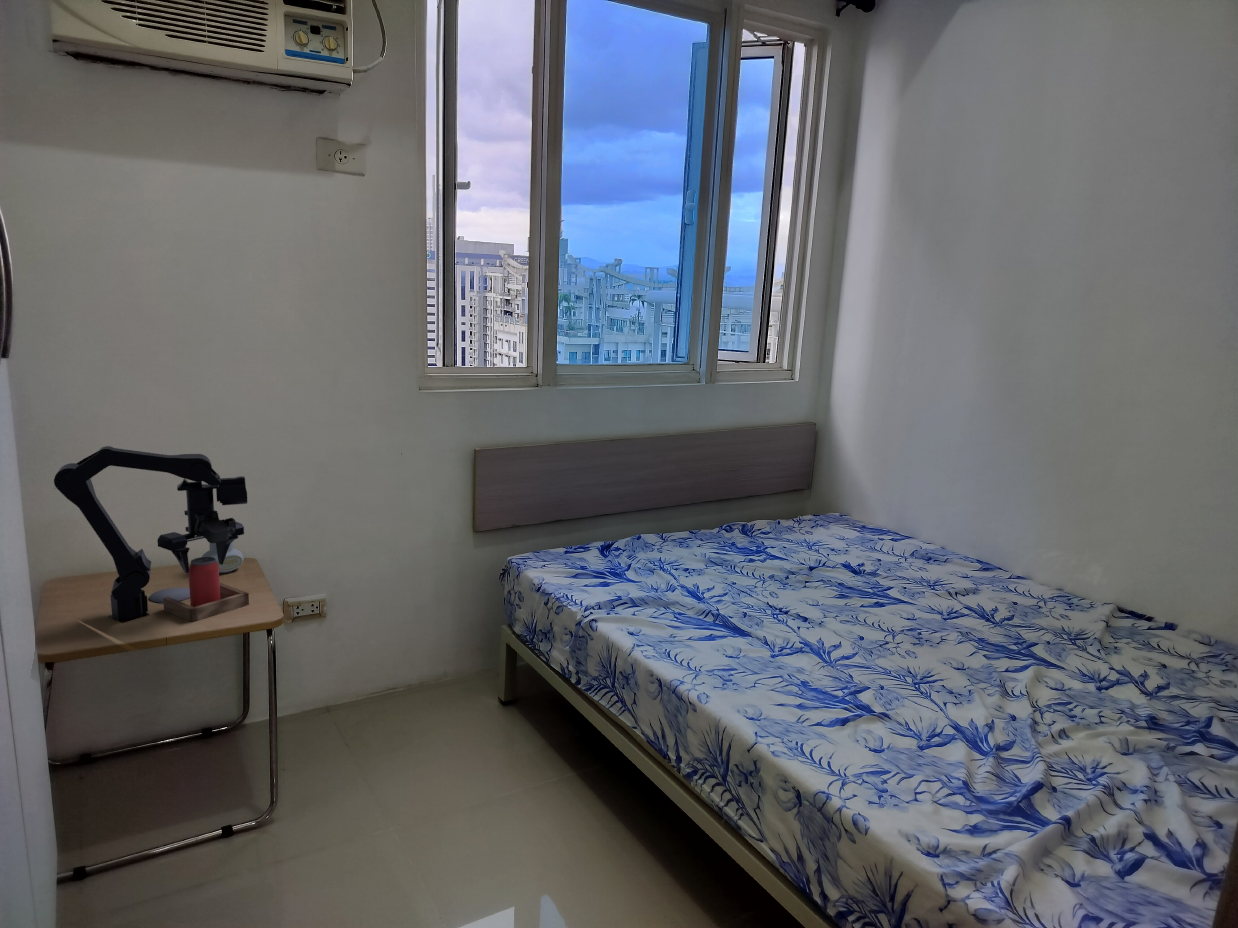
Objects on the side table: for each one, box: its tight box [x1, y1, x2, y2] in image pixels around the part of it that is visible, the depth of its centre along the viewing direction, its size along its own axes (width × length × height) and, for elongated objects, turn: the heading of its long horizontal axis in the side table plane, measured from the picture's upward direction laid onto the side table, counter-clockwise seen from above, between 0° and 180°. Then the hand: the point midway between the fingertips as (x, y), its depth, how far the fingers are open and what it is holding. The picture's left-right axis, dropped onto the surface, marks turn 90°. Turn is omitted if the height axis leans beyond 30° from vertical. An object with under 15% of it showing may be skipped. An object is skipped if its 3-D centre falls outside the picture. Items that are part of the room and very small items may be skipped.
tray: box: [163, 582, 250, 623], centre depth 194 cm, size 14×12×3 cm
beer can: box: [188, 556, 221, 607], centre depth 194 cm, size 7×7×12 cm
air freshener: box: [201, 541, 245, 574], centre depth 220 cm, size 11×8×10 cm
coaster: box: [149, 587, 190, 604], centre depth 200 cm, size 10×10×1 cm
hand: (204, 568), depth 193 cm, fingers open, 8 cm apart
